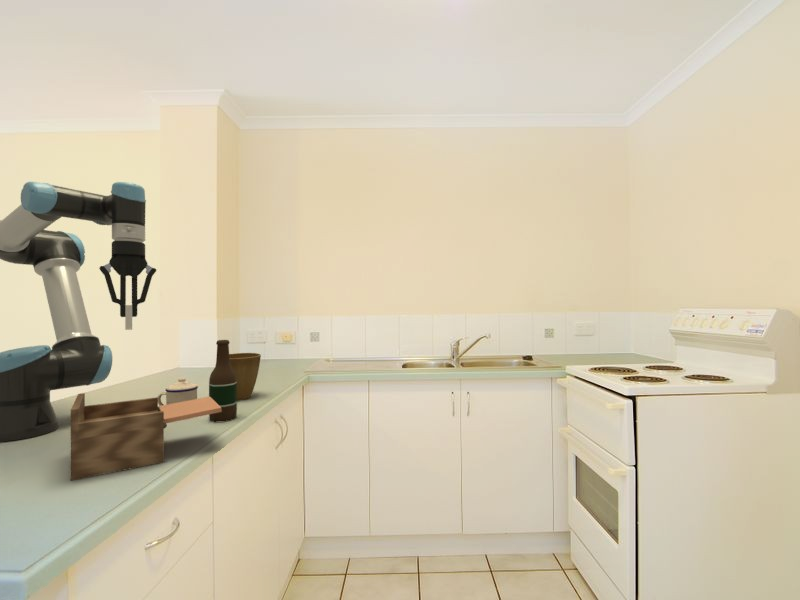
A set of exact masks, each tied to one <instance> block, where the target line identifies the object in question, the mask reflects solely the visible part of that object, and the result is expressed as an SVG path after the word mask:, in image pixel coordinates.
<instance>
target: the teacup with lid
mask: <svg viewBox="0 0 800 600" xmlns="http://www.w3.org/2000/svg"><path fill="white" fill-rule="evenodd" d="M186 379H187V378H185V377H179V378H178V380H177V381H175V382H174V383H173V384H171V385H168V386H166V388H165V392H161V393H159V394H158V395H157V396H156V397H157V398H158V407H159V406H162V405H164V404H163V402H162V400H161V398H162V396H164V395H165V396H166V397H165V400H166V402H165V403H166V404H165V405H168V404H173V403H178V402H184V401H189V400H194V399H198V388H199V386H198V384H197V383H193V382H191V381H188V380H186Z"/></svg>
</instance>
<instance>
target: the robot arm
mask: <svg viewBox="0 0 800 600" xmlns="http://www.w3.org/2000/svg"><path fill="white" fill-rule="evenodd" d="M145 192H146V191H145V188H144V187H143V186H141V185H140V184H137V183H133V182H127V181H117V182H114V183H112V185H111V190H110V194H109V195H103V194H98V193H92V192H89V191H84V190H83V191H82V190H79V189H78V190H77V189H74V188H73V189H72V188H69V187H63V186H58V185H54V184H51V183H46V182H37V181H27V182H25V183H24V184H23V187H22V189H21V191H20V205H19V206H17V207H16V208H15V209H13V211H11V212H10V213H8V215H6V216H5V217H4V218H3V219H1V220H0V260H1V261H4V262H6V263H11V264H17V265H28V266H32V267H33V270H34V272H35V274H37V275H38V276H41V277H42V281H43V282H42V283H43V285H44V290H45V294H46V295H45V297H46V300H47V304H48V308H49V312H50V313H49V314H50V316H51V317H50V318H51V321H52V322H51V323H52V326H53V331H54V335H55V339H56V342H55V343H54V344H52V346H51V347H50V345H46V344H43V345H42V344H41V345H31V346H24V347H19V348H18V347H17V348H13V349H8V350H4V351H1V352H0V442H1V443H2V442H10V441H17V440H23V439H29V438H34V437H37V436H42V435H46V434H49V433H51V432H53V431H55V430H58V428H59V419H58V417H57V414H56V412H55V409H54V407H53V405H52V403H51V391H57V390H62V389H63V390H64V389H69V388H75V387H83V386H91V385H95V384H99V383H103V382H104V381H106V379H107V378H108V377H109V375H110V373H111V370H112V366H113V351H112V349H111V347H110V346H109V345H105V344H102V345H101V341H100V338H99V337H98V336H96V335H94V334H92V331H91V326H90V322H89V318H88V315H87V310H86V307H85V303H84V298H83V295H82V290H81V286H80V283H79V279H78V275H77V272H78V271H80V270H81V267H82V266H83V264H85V263H84V262H85V260H86V255H85V254H86V250H85V249H86V248H85V245H84V243H83V241H82V240H81V238H80V237H79V236H78V235H76V234H73V233H70V232H69V233H68V232H65V231H62V230H58V231H57V230H55V231H54V230H45V229H47V228H48V227H49V226H51V225H52V224H53V223H55V222H56V221H58V220H59V219H60V218H68V219H75V220H80V221H81V220H82V221H89V222H93V223H95V224H97V225H99V226H111V239H112V240H113V241H112V242H111V258H110V259H109V262H108V263H107V264H105V265H101V266H99V267H98V269H99V270H100V272H101V273H102V275H104V279H105V283H106V285H107V290H108V292H109V295H110V298H111V302H112V303H114V304H118V305H119V312H120V313H119V315H120V317H121V318H125V319H124V323H125V324H124V327H125V330H126V331H128V330H129V331H130V330H133V318H136V317H137V316H138V305H140V304H142V303H145V302H146V299H147V295H148V292H149V289H150V285H151V281H152V278H153V276H154V275H155V274H156V272H157V269H156V268H155V267H152V266H151V265H149V264H148V261H147V259H146V244H145V243H144V242H145V241H146V202H147V199H146V193H145ZM111 268H112V270H114V271H115V273H116V274H117V275H119V278H120V279H119V280H120V281H119V282H120V283H119V285H120V287H119V295H120V296H119V298H118V297H117V293H116V291H115V287H114V283H113V279H112V277H111V274H110V273H111V272H112V270H111ZM145 269H146V270H145ZM144 270H145V273H146V274H147V275H145V276H146V277H145V281H144V284H143V287H142V291H141V294H140V297H139V298H138V276H139V275H141V273H142V272H143V271H144ZM127 276H128V277H131V304H126V302H127V301H126V300H127V299H126V298H127V292H126V291H127Z"/></svg>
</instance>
